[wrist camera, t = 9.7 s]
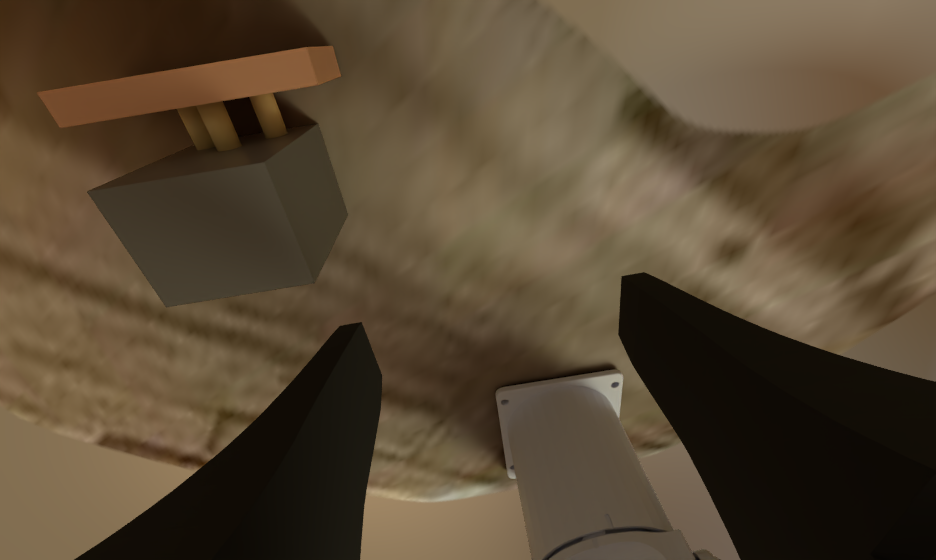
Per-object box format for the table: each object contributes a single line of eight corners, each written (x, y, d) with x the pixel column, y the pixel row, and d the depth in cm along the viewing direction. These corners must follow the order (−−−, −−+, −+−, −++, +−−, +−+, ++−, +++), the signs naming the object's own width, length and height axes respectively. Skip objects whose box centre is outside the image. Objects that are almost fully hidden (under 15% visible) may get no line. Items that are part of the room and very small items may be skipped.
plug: (348, 214, 18) (314, 283, 13) (241, 231, 18) (166, 307, 13) (304, 82, 15) (240, 103, 10) (178, 103, 15) (48, 135, 10)
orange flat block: (341, 76, 15) (318, 85, 12) (134, 110, 15) (60, 127, 12) (332, 45, 14) (306, 46, 11) (118, 81, 14) (36, 92, 11)
